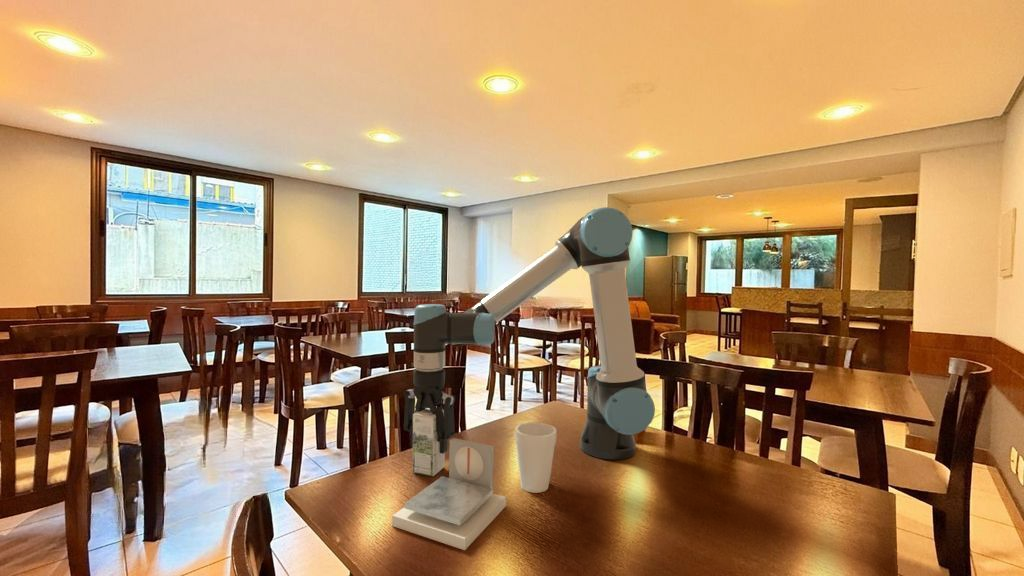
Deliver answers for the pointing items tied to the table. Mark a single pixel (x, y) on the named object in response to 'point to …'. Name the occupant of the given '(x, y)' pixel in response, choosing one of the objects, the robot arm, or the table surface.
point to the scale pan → (449, 500)
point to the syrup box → (425, 443)
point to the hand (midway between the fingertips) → (428, 462)
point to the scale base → (469, 467)
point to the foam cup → (535, 454)
